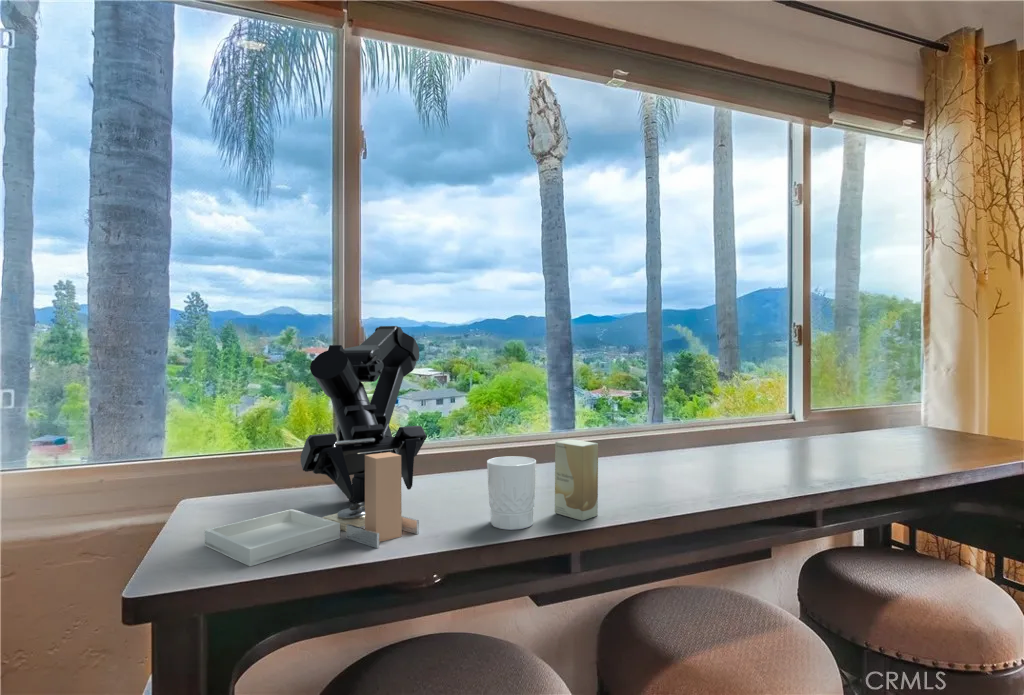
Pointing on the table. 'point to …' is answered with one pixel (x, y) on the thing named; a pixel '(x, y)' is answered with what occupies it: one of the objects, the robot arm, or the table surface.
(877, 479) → the table surface
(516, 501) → the white cup
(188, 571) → the table surface
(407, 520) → the bracket
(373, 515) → the tan rectangular block
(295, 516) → the tray
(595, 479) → the skincare box
